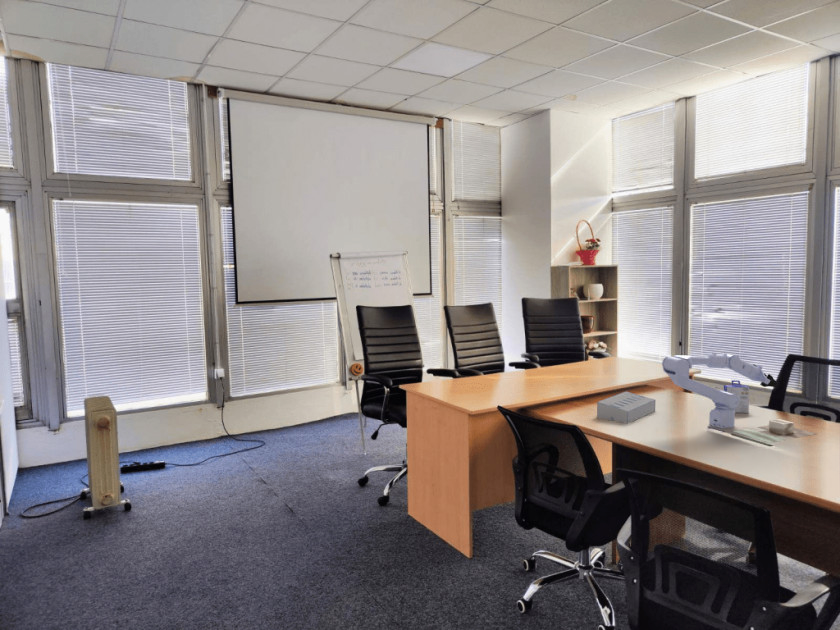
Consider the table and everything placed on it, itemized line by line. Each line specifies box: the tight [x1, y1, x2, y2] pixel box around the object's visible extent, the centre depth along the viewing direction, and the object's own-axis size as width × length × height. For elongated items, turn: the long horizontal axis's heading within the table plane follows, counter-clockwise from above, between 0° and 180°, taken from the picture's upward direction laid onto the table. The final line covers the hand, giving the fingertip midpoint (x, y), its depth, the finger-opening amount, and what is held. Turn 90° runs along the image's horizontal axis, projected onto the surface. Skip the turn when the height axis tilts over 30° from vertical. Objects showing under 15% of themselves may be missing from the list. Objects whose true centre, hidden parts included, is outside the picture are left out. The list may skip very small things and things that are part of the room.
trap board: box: [731, 424, 818, 447], centre depth 223 cm, size 28×16×2 cm, turn 113°
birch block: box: [768, 418, 795, 434], centre depth 224 cm, size 6×6×4 cm
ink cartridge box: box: [723, 379, 750, 414], centre depth 262 cm, size 10×6×14 cm, turn 78°
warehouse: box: [596, 391, 656, 424], centre depth 259 cm, size 30×14×8 cm, turn 136°
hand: (771, 381), depth 237 cm, fingers open, 7 cm apart
